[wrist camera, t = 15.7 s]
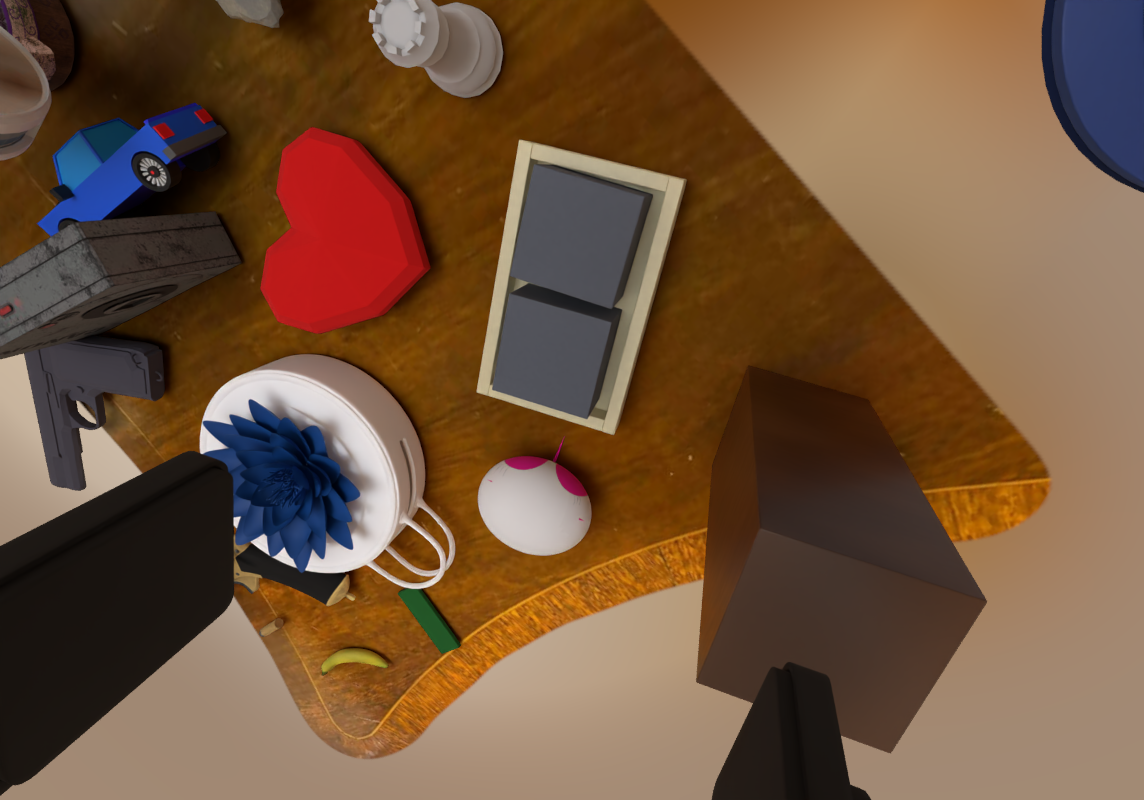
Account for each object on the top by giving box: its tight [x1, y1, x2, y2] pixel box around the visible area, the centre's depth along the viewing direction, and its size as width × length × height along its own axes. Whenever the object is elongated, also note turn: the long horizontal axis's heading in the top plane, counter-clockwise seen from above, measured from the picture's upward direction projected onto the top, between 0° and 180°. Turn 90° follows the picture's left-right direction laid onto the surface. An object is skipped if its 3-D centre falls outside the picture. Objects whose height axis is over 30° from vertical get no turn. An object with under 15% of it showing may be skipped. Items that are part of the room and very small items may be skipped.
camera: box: [0, 212, 242, 359], centre depth 39 cm, size 16×4×10 cm, turn 113°
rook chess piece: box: [369, 0, 503, 98], centre depth 30 cm, size 4×4×8 cm
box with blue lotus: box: [200, 354, 455, 589], centre depth 42 cm, size 7×16×20 cm
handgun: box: [24, 335, 165, 491], centre depth 49 cm, size 18×2×12 cm
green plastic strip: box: [398, 588, 461, 654], centre depth 49 cm, size 6×1×2 cm
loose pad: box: [510, 164, 653, 309], centre depth 33 cm, size 6×6×4 cm
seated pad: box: [492, 283, 622, 419], centre depth 36 cm, size 6×6×4 cm
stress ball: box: [478, 436, 591, 555], centre depth 40 cm, size 8×8×7 cm
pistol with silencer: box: [234, 534, 356, 637], centre depth 52 cm, size 4×25×11 cm
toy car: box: [37, 103, 227, 236], centre depth 38 cm, size 7×12×5 cm
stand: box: [696, 366, 987, 753], centre depth 28 cm, size 7×7×18 cm
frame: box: [477, 140, 687, 435], centre depth 36 cm, size 9×15×2 cm, turn 167°
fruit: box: [321, 648, 389, 676], centre depth 52 cm, size 7×1×3 cm
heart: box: [260, 127, 431, 334], centre depth 37 cm, size 12×4×10 cm
